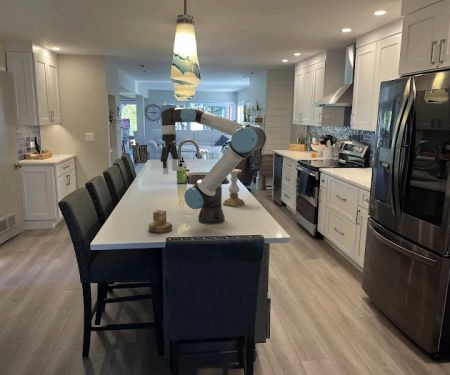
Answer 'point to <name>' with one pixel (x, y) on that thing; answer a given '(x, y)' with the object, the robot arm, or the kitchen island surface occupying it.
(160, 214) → the walnut block
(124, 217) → the kitchen island surface
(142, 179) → the kitchen island surface
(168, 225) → the plinth
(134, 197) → the kitchen island surface
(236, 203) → the candle holder
